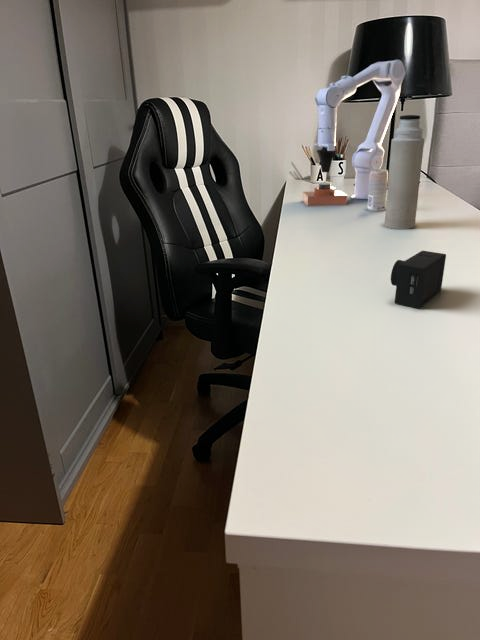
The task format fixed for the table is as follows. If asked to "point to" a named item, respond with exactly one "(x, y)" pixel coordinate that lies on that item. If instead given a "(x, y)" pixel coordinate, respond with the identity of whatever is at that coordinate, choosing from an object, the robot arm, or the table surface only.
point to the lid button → (324, 186)
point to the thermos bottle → (404, 174)
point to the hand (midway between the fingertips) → (325, 172)
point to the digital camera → (418, 278)
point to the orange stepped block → (324, 197)
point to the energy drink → (377, 190)
